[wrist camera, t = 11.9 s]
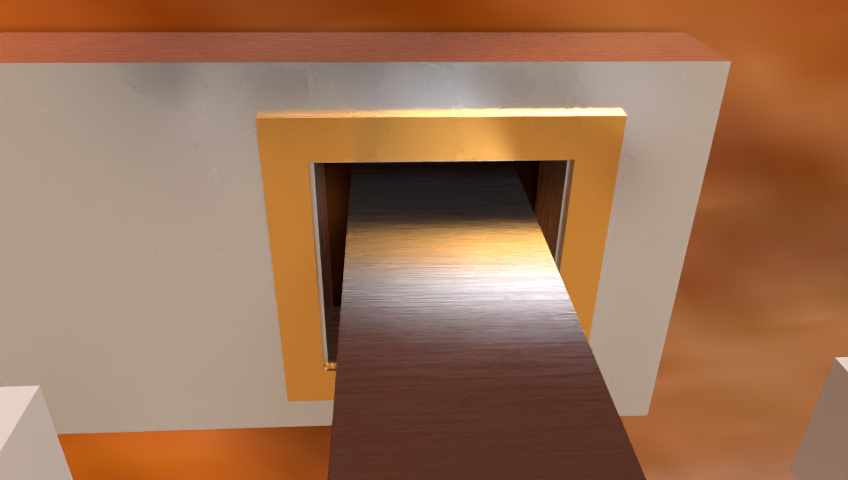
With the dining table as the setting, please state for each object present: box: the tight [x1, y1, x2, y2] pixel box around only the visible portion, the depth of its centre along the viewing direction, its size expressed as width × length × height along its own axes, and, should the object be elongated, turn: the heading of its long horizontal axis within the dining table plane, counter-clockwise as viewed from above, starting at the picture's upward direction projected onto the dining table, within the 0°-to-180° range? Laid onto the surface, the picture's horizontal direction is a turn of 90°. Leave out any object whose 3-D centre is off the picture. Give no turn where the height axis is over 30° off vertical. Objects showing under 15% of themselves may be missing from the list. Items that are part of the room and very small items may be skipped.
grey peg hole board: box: [0, 32, 731, 434], centre depth 17 cm, size 10×26×3 cm, turn 89°
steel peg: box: [328, 161, 646, 480], centre depth 14 cm, size 4×4×11 cm
